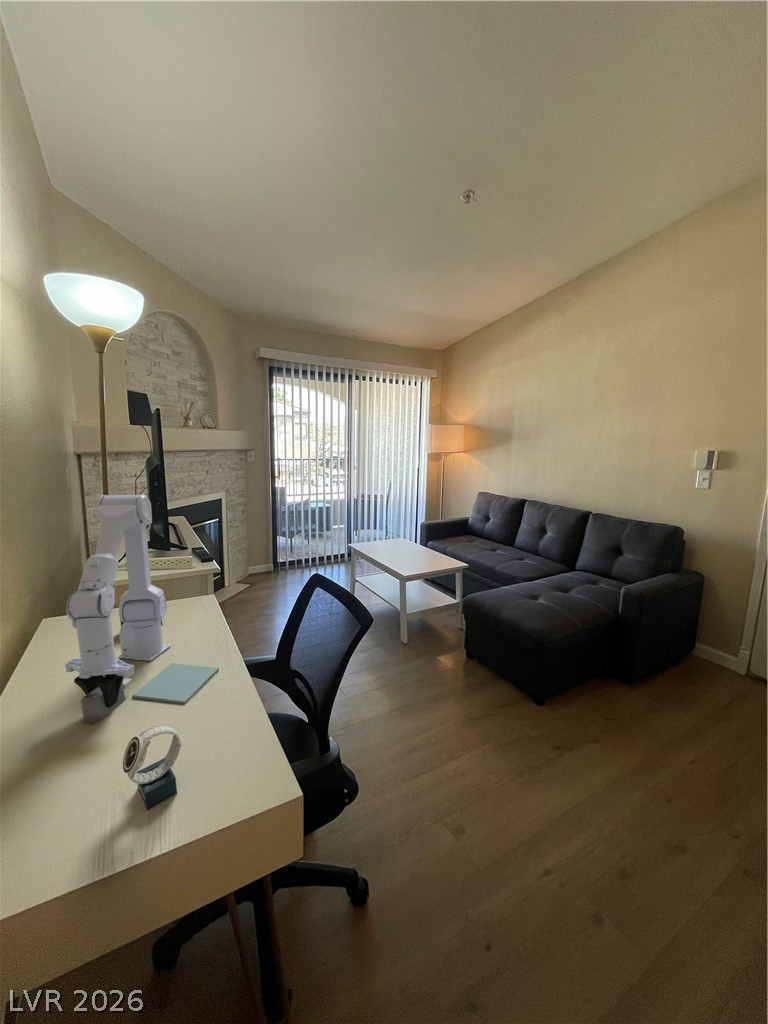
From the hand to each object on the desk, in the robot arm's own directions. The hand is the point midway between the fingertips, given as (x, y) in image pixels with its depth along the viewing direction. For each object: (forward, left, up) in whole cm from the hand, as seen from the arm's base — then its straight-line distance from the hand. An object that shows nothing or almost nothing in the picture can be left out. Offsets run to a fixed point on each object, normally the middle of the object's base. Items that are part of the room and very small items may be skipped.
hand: (104, 703), depth 83 cm
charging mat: (+9, +11, -1) cm, 14 cm away
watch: (+25, -16, -2) cm, 30 cm away
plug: (0, 0, -1) cm, 1 cm away
